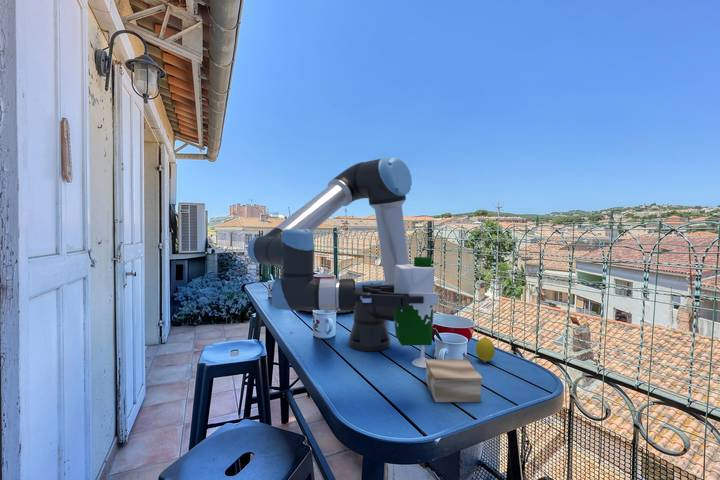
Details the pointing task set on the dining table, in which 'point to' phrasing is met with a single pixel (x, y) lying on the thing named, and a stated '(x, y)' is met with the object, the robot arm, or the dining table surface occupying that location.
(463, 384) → the oak riser
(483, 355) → the lemon
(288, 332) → the dining table surface
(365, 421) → the dining table surface
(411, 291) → the fresh milk carton
